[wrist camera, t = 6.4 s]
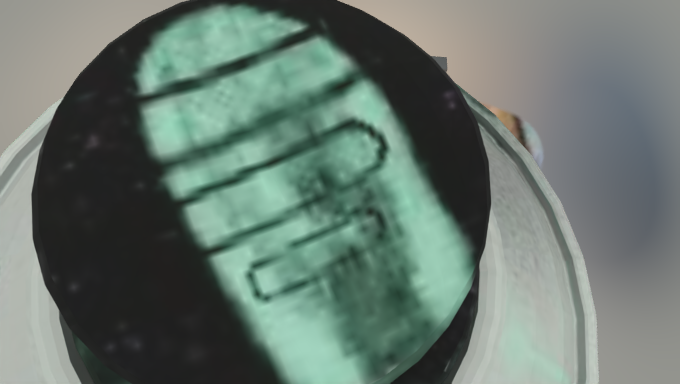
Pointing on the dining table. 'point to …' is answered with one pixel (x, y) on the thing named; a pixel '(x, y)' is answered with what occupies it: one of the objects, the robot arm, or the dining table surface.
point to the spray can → (282, 217)
